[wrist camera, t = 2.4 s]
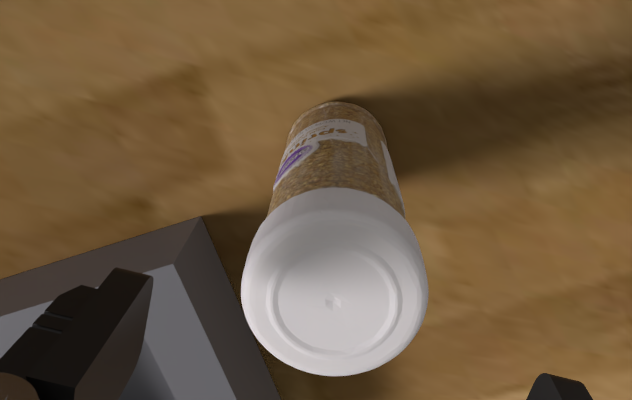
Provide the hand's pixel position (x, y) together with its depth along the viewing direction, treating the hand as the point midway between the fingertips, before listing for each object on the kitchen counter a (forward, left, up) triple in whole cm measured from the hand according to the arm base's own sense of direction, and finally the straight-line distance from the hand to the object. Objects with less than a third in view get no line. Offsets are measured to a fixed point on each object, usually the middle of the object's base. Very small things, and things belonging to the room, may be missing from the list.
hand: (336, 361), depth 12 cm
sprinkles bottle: (0, 0, -16) cm, 16 cm away
